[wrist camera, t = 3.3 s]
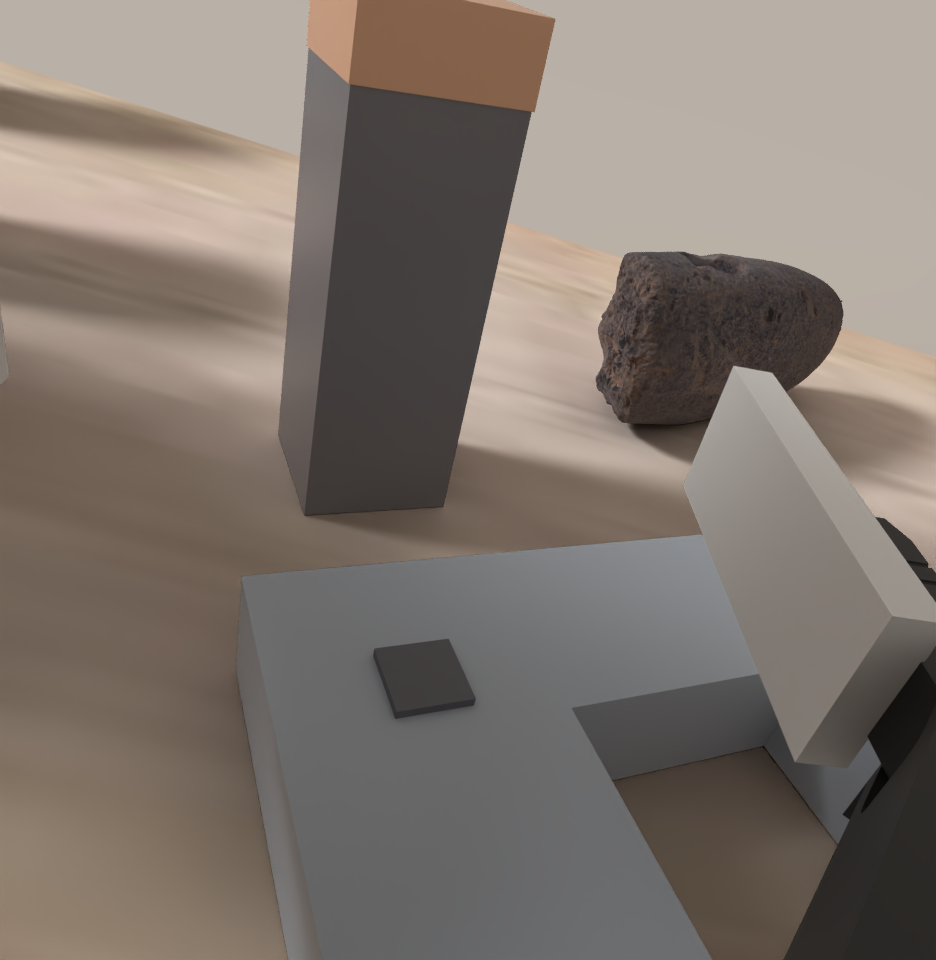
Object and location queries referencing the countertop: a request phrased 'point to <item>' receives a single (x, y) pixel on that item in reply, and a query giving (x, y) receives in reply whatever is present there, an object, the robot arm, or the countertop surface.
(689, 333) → the perforated stone tool
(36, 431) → the countertop surface
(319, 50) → the plug
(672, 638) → the socket
